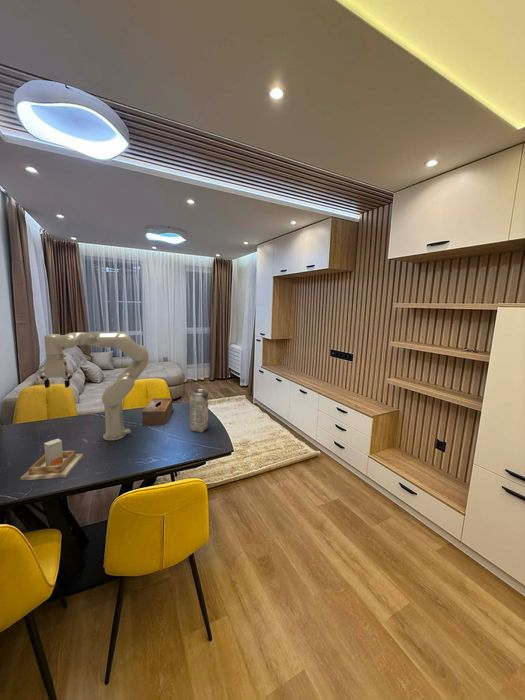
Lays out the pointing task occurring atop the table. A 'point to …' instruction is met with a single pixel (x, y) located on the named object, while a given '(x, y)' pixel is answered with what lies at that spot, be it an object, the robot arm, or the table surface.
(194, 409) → the grey faceted bottle
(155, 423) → the tissue box cover
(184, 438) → the table surface
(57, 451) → the skincare box
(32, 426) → the table surface
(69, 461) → the socket stand
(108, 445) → the table surface
